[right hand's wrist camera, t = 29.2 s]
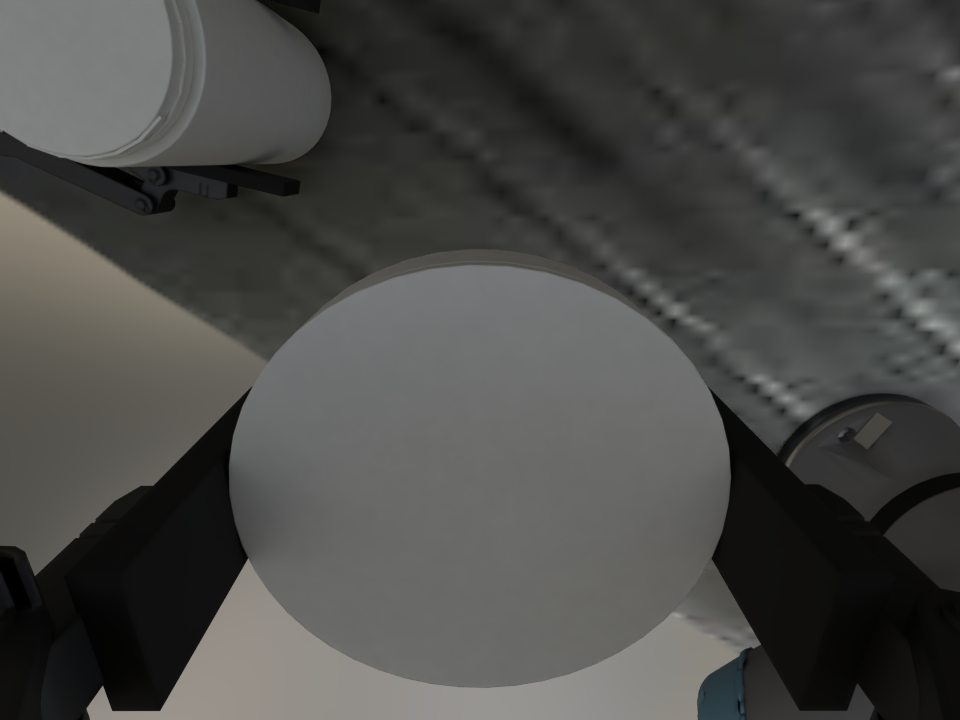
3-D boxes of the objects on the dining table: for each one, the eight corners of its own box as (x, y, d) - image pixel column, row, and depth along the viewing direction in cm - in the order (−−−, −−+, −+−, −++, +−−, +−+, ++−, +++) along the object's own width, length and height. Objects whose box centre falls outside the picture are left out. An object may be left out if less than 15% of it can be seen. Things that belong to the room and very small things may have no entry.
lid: (390, 672, 15) (379, 735, 13) (170, 367, 11) (119, 401, 10) (746, 551, 13) (783, 606, 12) (612, 159, 10) (638, 160, 8)
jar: (167, 82, 35) (-151, 5, 17) (257, -22, 32) (0, -230, 15) (269, 191, 37) (81, 219, 20) (359, 100, 35) (239, 43, 18)
